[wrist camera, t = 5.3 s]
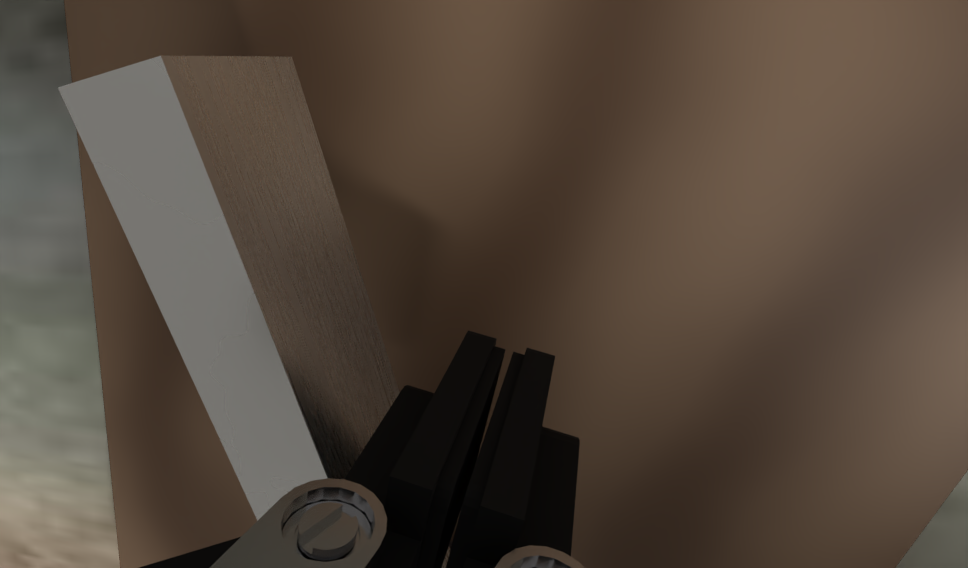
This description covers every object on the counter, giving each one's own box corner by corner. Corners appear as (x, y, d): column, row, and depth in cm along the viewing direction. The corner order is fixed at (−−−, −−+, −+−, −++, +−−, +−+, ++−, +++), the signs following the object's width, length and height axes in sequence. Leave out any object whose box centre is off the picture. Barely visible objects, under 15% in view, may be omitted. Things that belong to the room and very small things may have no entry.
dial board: (1239, -33, 9) (1371, -52, 8) (718, 739, 18) (729, 801, 17) (104, -246, 11) (24, -296, 10) (153, 546, 20) (117, 586, 19)
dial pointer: (551, 679, 16) (534, 896, 12) (436, 673, 17) (383, 873, 13) (380, 44, 10) (232, 33, 6) (221, 88, 11) (-1, 105, 7)
